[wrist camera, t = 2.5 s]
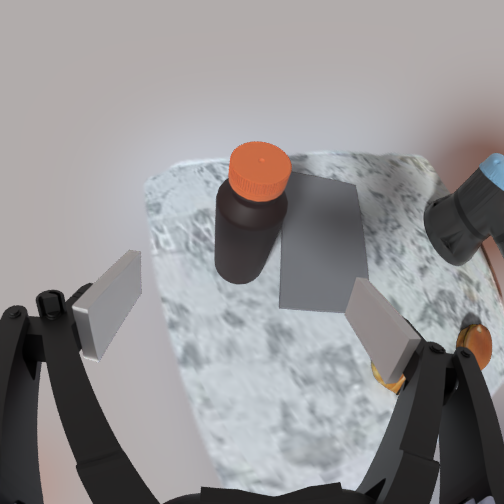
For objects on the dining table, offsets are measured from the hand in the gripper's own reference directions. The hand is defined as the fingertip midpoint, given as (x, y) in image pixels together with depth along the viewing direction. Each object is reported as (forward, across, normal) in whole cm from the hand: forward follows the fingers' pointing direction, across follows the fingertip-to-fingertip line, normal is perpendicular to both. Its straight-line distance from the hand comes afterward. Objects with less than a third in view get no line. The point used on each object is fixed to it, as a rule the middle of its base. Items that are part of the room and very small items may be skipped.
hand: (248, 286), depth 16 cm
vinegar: (+22, 0, -7) cm, 23 cm away
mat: (+26, +13, -3) cm, 29 cm away
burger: (+12, +45, -17) cm, 50 cm away
